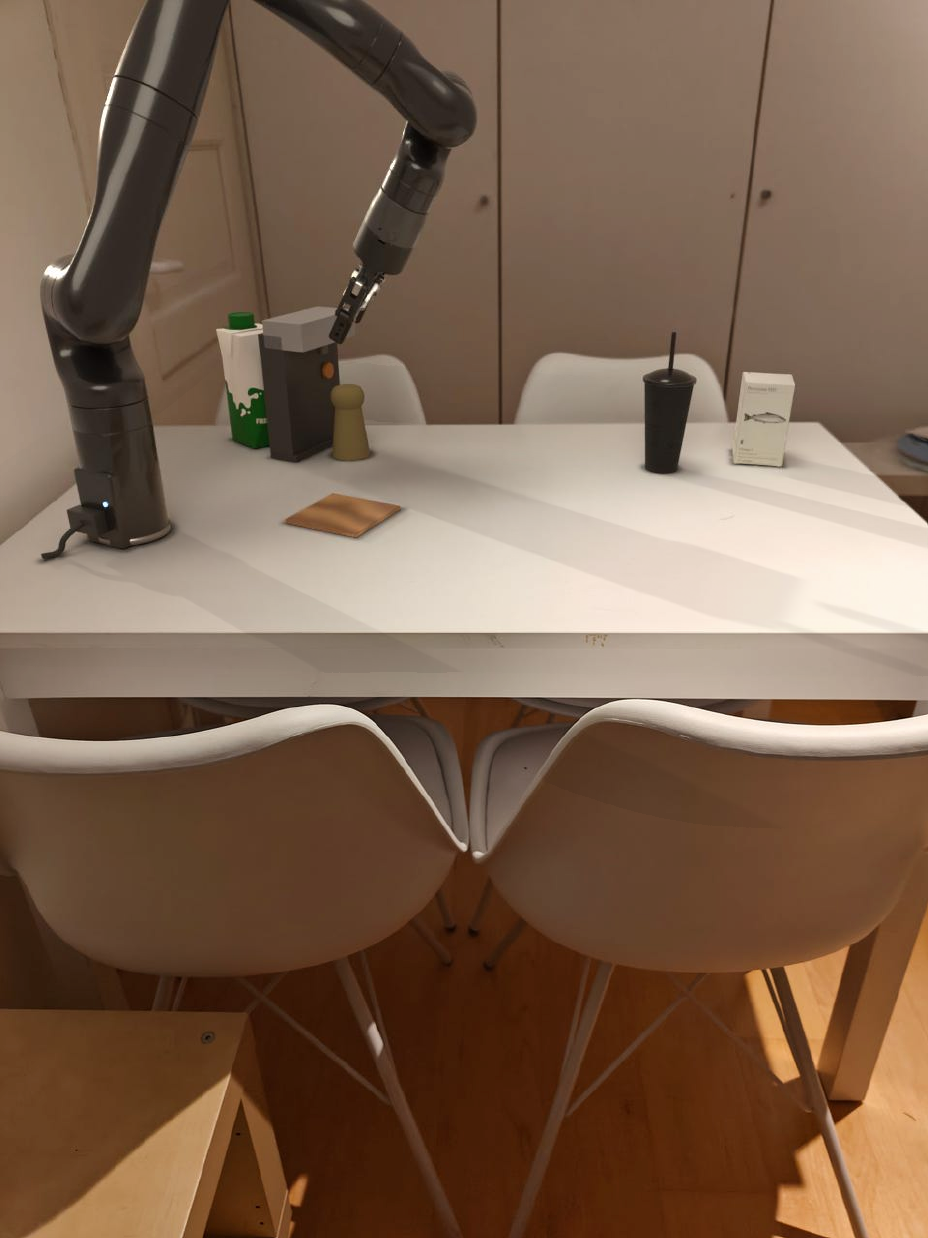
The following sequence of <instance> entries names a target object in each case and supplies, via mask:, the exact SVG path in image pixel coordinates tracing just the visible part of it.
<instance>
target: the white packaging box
mask: <svg viewBox="0 0 928 1238" xmlns="http://www.w3.org/2000/svg"><path fill="white" fill-rule="evenodd" d="M741 376H742V377H741V384H740V389H739V390H740V391H739V398H738V407H737V412H736V420H735V427H734V435H733V443H732V449H731V450H732V463H733V464H734V465H736V464H744V465H745V464H746V465H757V466H761V465H762V466H770V467H771V466H772V467H782V466H783V462H784V456H785V450H786V443H787V437H788V431H789V425H790V419H791V413H792V408H793V407H792V406H793V402H794V394H795V389H796V388H795V387H796V383H795V380H794V376H793V374H790V373H789V374H787V373H786V374H785V373H770V372H753V371H750V372H749V371H743V372H742V375H741Z"/></svg>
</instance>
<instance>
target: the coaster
mask: <svg viewBox="0 0 928 1238" xmlns="http://www.w3.org/2000/svg"><path fill="white" fill-rule="evenodd" d="M400 511H401V505H400V504H399V505H398V504H394V503H388V502H384V501H383V502H382V501H377V500H372V499H366V498H362V497H361V498H360V497H356V496H349V495H346V494H345V495H344V494H338V493H333V492H332V493H331V494H329V495H326V497H324V498H322V499H319V500H318V501H316V502H314V503H312V504H311V505H309V506H306V507H305V508H303V509H302V510H300V511H298V512H296V513H293V515H290V516H289V517H287V518H284V519H285V524H288V525H293V526H298V527H303V528H307V529H312V530H317V531H321V532H327V533H330V534H331V533H333V534H336V535H342V536H348V537H351V538H358V537H359V536H361V535H362V534H364V533H366V532H367V531H369V530H371V529H372V528H374V527H376V526H377V525H378V524H380V523H382V522H383V521H385V520H386V519H388V518H390V517H391V516H393V515H394V514H396V513H398V512H400Z"/></svg>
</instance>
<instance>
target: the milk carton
mask: <svg viewBox="0 0 928 1238" xmlns="http://www.w3.org/2000/svg"><path fill="white" fill-rule="evenodd" d="M227 319H228V326H226V327H225V326H223V327H222V328H216V330H215V332H216V336H217V341H218V344H219V348H220V353H221V359H222V365H223V366H222V367H223V373H224V382H225V390H226V398H227V405H228V406H227V407H228V414H229V415H228V416H229V424H230V432H231V439H232V440H233V441H235V442H238V443H240V444H242V445H245V446H247V447H249V448H252V449H258V448H263V447H267V446H270V443H269V434H268V424H267V415H266V406H265V396H264V387H263V377H262V368H261V359H260V349H259V340H258V334H260V333H263V327H262V323H255V314H254V313H253V312H250V311H249V312H248V311H237V312H231V313H228V314H227Z"/></svg>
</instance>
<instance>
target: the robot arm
mask: <svg viewBox="0 0 928 1238" xmlns="http://www.w3.org/2000/svg"><path fill="white" fill-rule="evenodd" d="M251 1H253V2H254V3H255V4H257V5H259V6H260V7H261V8H264V9H265V10H267V11H268V12H270V13H271V14H273V15H274V16H276V17H277V18H279V19H280V20H282V21H283V22H285V23H286V24H288V25H289V26H291V27H292V28H293V29H295V30H296V31H298V32H299V33H300V34H302V35H303V36H304V37H306V38H307V39H309V40H310V41H311V42H312V43H314V44H315V45H316V46H318V47H319V48H320V49H321V50H323V51H324V52H326V53H327V54H328V55H329V56H331V57H332V58H333V59H334V60H335V61H337V62H338V63H339V64H340V65H342V66H343V67H344V68H345V69H347V70H348V71H349V72H350V73H351V74H353V75H354V76H355V77H356V78H358V79H359V80H360V81H361V82H363V83H364V84H365V85H367V86H368V87H369V88H371V90H373V91H374V92H376V93H378V94H379V95H380V96H381V97H383V98H384V99H385V100H386V101H387V102H388V103H389V104H390V105H391V106H392V107H393V108H394V109H395V111H396V112H397V113H399V115H400V116H401V117H402V118H403V119H404V120H405V121H406V122H405V126H404V129H403V133H402V136H401V140H400V143H399V146H398V148H397V150H396V153H395V154H394V156H393V158H392V160H391V163H390V164H389V167H388V168H387V170H386V173H385V175H384V178H383V180H382V182H381V185H380V187H379V188H378V190H377V191H376V193H375V195H374V196H373V198H372V201H371V202H370V204H369V206H368V209H367V211H366V213H365V215H364V218H363V220H362V222H361V225H360V227H359V229H358V232H357V234H356V237H355V239H354V240H353V242H352V250H353V252H354V254H355V256H356V257H357V258H359V260H360V261H361V262H360V263H359V265H358V267H355V268H354V269H353V272H352V273H351V276H350V279H349V281H348V285H347V286H346V288H345V290H344V292H343V294H342V297H341V299H340V302H339V304H338V306H337V307H336V308H337V309H336V311H335V316H337V318H336V320H335V323H334V325H333V327H332V329H331V331H330V334H329V338H330V339H331V340H333V341H334V342H336V343H337V345H343V344H344V342H346V341H345V340H346V339H345V338H346V336H347V334H348V332H349V330H350V328H351V326H352V324H353V322H355V324H360V322H361V321H362V320H363V318H364V316H365V313H366V311H367V309H368V307H369V305H370V302H372V301H373V300H374V298H375V297H377V295H378V293H379V291H380V290H381V288H382V286H383V284H384V283H385V281H386V279H387V277H386V276H387V275H388V276H398V275H401V273H402V272H403V271H404V269H405V267H406V265H407V264H408V261H409V259H410V257H411V255H412V252H413V251H414V249H415V247H416V244H417V243H418V240H419V238H420V236H421V234H422V232H423V230H424V227H425V225H426V223H427V222H426V221H427V219H428V216H429V213H430V211H431V209H432V207H433V205H434V203H435V201H436V199H437V197H438V195H439V193H440V190H441V189H442V186H443V183H444V181H445V176H446V166H447V161H448V159H449V157H450V154H451V152H452V150H453V149H457V148H460V147H463V145H465V144H467V143H468V142H469V141H471V138H473V136H474V135H475V131H476V129H477V125H478V110H477V106H476V102H475V100H474V96H473V92H472V90H471V88H470V85H469V84H468V82H467V80H466V79H465V78H464V77H463V76H462V75H461V74H459V73H458V72H456V71H453V70H448V69H443V70H442V69H441V70H439V69H438V68H437V67H436V66H435V65H434V64H432V63H431V62H430V61H429V60H428V59H426V58H425V56H424V55H423V54H422V53H421V51H420V50H419V48H418V46H417V45H416V44H415V42H414V41H413V39H411V38H410V36H408V35H407V34H406V33H405V32H404V31H403V30H402V29H401V28H399V26H397V25H396V24H394V22H392V21H391V20H390V19H389V18H388V17H387V16H385V15H384V14H383V13H382V12H380V11H379V10H378V9H377V8H376V7H375V6H373V5H372V4H371V3H369V2H368V1H366V0H251ZM230 3H231V0H145V2H144V4H143V6H142V9H141V10H140V12H139V14H138V16H137V19H136V21H135V22H134V25H133V27H132V29H131V32H130V34H129V36H128V39H127V41H126V44H125V46H124V48H123V51H122V53H121V56H120V58H119V61H118V64H117V66H116V68H115V71H114V75H113V78H112V81H111V84H110V87H109V90H108V94H107V97H106V101H105V104H104V107H103V111H102V115H101V118H100V123H99V129H98V137H97V149H96V173H95V175H96V176H95V190H94V197H93V198H94V199H93V203H92V207H91V211H90V215H89V218H88V221H87V223H86V226H85V228H84V231H83V234H82V237H81V239H80V242H79V245H78V247H77V249H76V251H75V253H70V254H65V255H63V256H60V257H58V258H56V259H54V260H53V261H52V262H51V263H50V264H49V265H48V266H47V267H46V269H45V270H44V272H43V275H42V276H41V280H40V286H39V299H40V307H41V312H42V317H43V321H44V326H45V330H46V335H47V339H48V343H49V347H50V348H49V349H50V352H51V355H52V360H53V361H52V362H53V365H54V368H55V372H56V374H57V377H58V379H59V381H60V383H61V386H62V388H63V392H64V395H65V400H66V405H67V410H68V414H69V419H70V425H71V430H72V434H73V438H74V444H75V449H76V455H77V457H78V458H77V459H78V464H79V465H78V466H75V468H74V469H73V474H74V479H75V484H76V488H77V493H78V494H77V495H78V496H79V498H78V499H79V502H80V504H77V505H74V506H72V507H70V508H67V509H66V514H67V519H68V523H69V529H67V530H66V531H65V532H64V534H63V535H62V536H61V537H60V538H59V542H58V548H56V549H55V550H53V551H48V552H43V553H41V554H40V556H41V559H42V560H46V559H53V558H56V557H59V556H60V555H62V553H64V551H65V549H66V543H67V541H68V540H69V538H70V537H71V536H73V534H75V533H76V532H77V533H81V534H85V535H86V536H87V540H88V542H92V543H97V544H102V545H106V546H110V547H114V548H118V549H123V550H124V549H127V548H128V547H131V546H137V545H143V544H146V543H151V542H153V541H157V540H158V539H161V538H163V537H164V536H166V535H168V533H169V532H170V531H171V529H172V528H171V521H170V518H169V514H168V513H169V512H168V509H167V501H166V496H165V490H164V483H163V477H162V472H161V466H160V459H159V453H158V447H157V441H156V435H155V429H154V424H153V417H152V410H151V404H150V403H151V402H150V398H149V393H148V392H149V391H148V387H147V381H146V376H145V374H144V372H143V370H142V368H141V366H140V365H139V363H138V361H137V358H136V356H135V353H134V351H133V347H132V343H131V337H130V334H131V333H132V331H134V329H135V328H136V326H137V324H138V323H139V320H140V317H141V314H142V310H143V306H144V301H145V296H146V293H147V288H148V287H147V286H148V281H149V277H150V273H151V268H152V263H153V258H154V253H155V251H156V250H155V248H156V246H157V241H158V238H159V234H160V231H161V228H162V225H163V223H164V221H165V217H166V215H167V213H168V209H169V207H170V204H171V202H172V199H173V195H174V193H175V190H176V187H177V185H178V181H179V178H180V175H181V172H182V169H183V167H184V163H185V161H186V158H187V156H188V153H189V150H190V147H191V144H192V142H193V139H194V135H195V132H196V129H197V127H198V123H199V121H200V117H201V112H202V109H203V106H204V101H205V98H206V95H207V91H208V87H209V84H210V80H211V76H212V72H213V68H214V62H215V58H216V53H217V50H218V45H219V39H220V35H221V31H222V27H223V23H224V19H225V17H226V13H227V11H228V8H229V5H230ZM347 305H348V306H349V308H348V309H349V310H348V311H347V310H345V309H346V307H347Z"/></svg>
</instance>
